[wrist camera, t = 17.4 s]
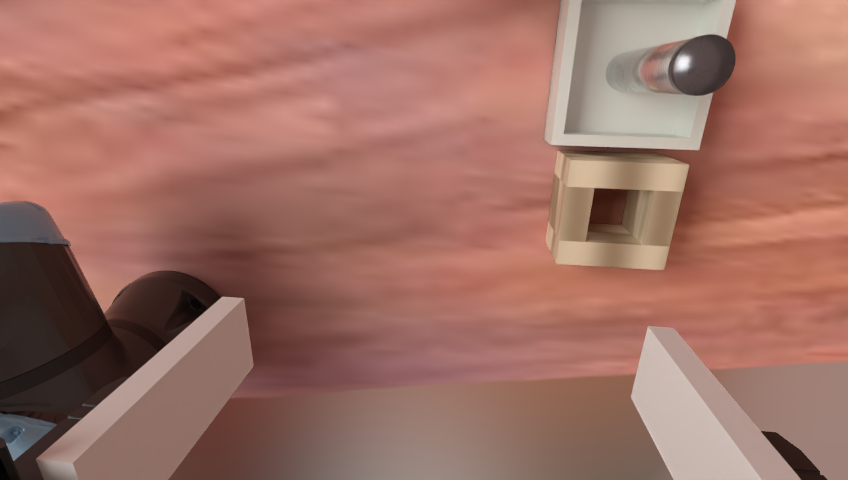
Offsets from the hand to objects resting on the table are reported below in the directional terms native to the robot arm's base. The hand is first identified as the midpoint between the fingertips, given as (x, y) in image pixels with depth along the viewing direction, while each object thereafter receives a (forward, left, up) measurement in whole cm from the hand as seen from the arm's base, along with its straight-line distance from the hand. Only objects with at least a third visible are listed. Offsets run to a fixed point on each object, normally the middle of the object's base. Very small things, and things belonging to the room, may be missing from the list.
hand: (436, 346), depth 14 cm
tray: (+15, +10, -33) cm, 37 cm away
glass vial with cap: (+15, +10, -32) cm, 36 cm away
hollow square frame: (+15, -3, -33) cm, 36 cm away
